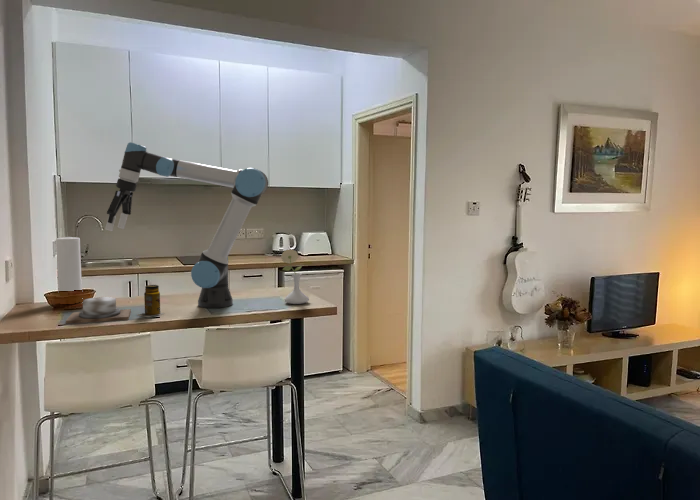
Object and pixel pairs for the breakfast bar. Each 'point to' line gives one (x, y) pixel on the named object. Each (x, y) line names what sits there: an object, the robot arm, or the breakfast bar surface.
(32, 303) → the breakfast bar surface
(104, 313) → the duct base
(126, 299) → the breakfast bar surface
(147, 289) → the condiment
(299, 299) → the flower in vase
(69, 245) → the cylinder container
